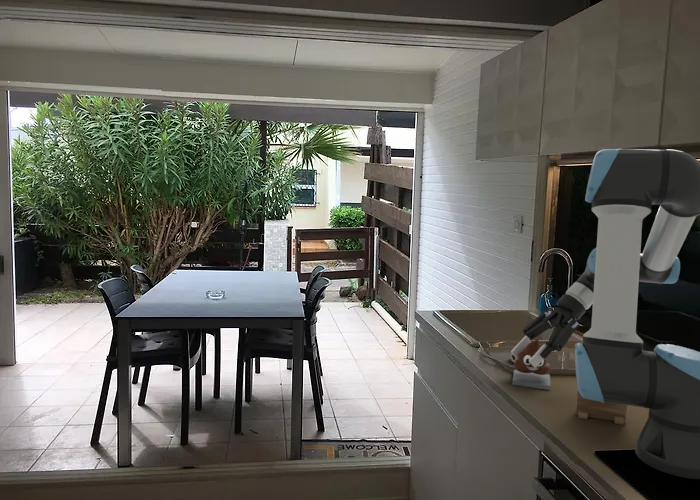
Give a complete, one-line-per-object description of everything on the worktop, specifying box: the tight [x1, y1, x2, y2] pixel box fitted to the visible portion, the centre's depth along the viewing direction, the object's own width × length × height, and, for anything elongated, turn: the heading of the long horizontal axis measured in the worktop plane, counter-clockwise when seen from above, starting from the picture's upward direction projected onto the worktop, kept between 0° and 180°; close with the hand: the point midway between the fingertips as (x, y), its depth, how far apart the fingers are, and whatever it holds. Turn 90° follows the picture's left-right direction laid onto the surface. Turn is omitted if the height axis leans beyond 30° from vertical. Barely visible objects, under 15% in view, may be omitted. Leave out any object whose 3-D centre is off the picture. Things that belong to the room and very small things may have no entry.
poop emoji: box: [513, 339, 552, 375], centre depth 161 cm, size 10×8×9 cm
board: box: [511, 369, 551, 391], centre depth 161 cm, size 10×10×1 cm
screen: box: [575, 388, 628, 426], centre depth 137 cm, size 5×11×14 cm, turn 72°
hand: (522, 359), depth 160 cm, fingers closed on poop emoji, 8 cm apart
